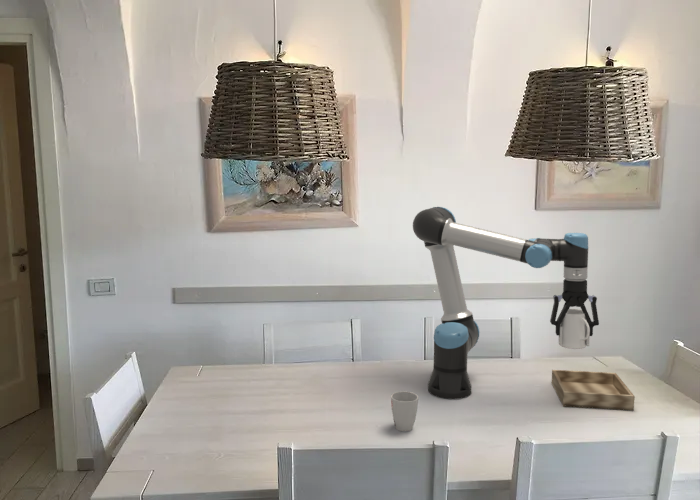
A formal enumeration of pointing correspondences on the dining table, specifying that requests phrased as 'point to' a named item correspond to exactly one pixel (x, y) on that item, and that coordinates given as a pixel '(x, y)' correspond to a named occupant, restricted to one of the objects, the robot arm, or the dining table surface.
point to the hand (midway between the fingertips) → (573, 344)
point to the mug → (574, 329)
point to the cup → (404, 410)
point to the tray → (592, 390)
